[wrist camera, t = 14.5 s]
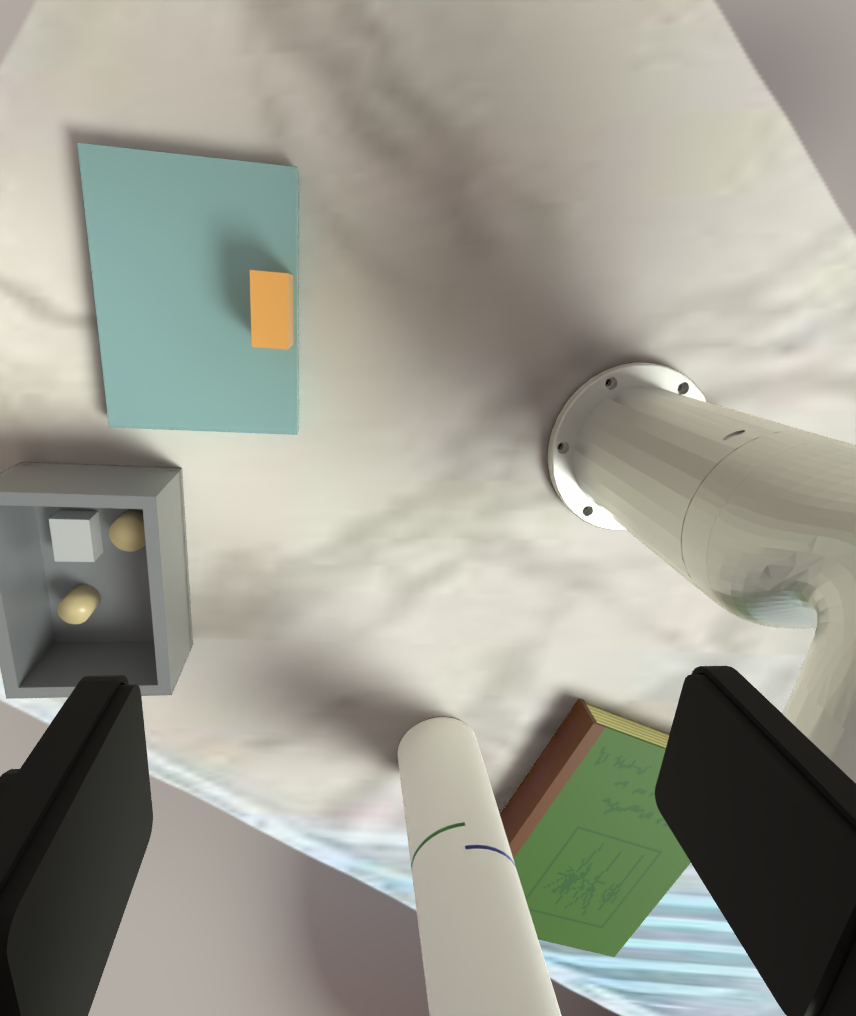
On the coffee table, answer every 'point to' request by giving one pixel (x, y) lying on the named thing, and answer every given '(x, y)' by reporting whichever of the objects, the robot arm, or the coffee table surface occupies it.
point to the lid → (194, 289)
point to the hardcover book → (593, 832)
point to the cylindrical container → (467, 882)
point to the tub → (92, 577)
